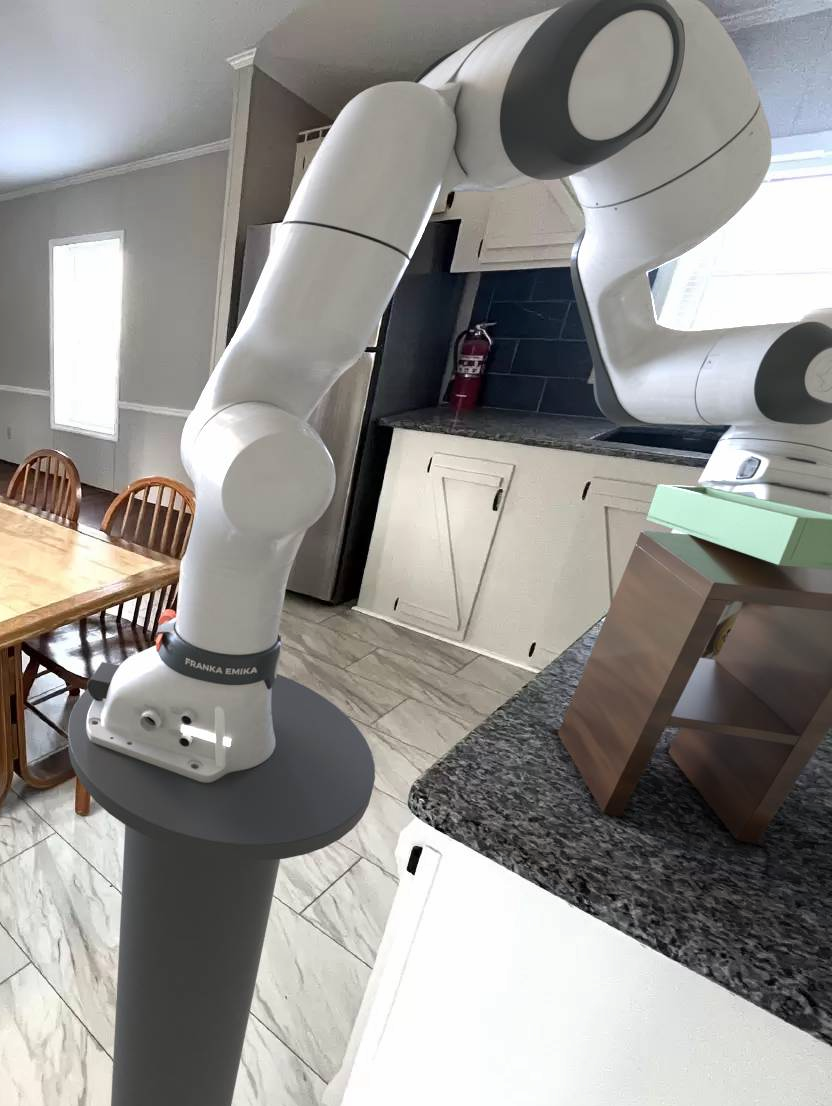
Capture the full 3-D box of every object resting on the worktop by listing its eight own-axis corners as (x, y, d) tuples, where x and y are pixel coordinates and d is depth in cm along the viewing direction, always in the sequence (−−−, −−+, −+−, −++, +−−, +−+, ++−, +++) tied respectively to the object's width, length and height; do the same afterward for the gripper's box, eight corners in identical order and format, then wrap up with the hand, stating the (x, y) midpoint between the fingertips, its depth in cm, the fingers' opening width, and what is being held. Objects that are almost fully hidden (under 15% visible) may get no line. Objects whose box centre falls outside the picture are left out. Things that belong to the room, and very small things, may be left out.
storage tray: (778, 565, 52) (798, 517, 51) (645, 519, 72) (657, 484, 70) (852, 571, 51) (875, 522, 49) (696, 523, 70) (709, 487, 69)
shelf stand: (602, 813, 65) (714, 582, 54) (557, 733, 77) (641, 530, 65) (756, 844, 61) (912, 601, 50) (684, 755, 72) (796, 542, 61)
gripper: (680, 477, 77) (627, 583, 81) (776, 459, 59) (702, 597, 63) (748, 490, 75) (690, 599, 78) (869, 476, 57) (787, 619, 60)
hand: (696, 598), depth 70 cm, fingers open, 8 cm apart
